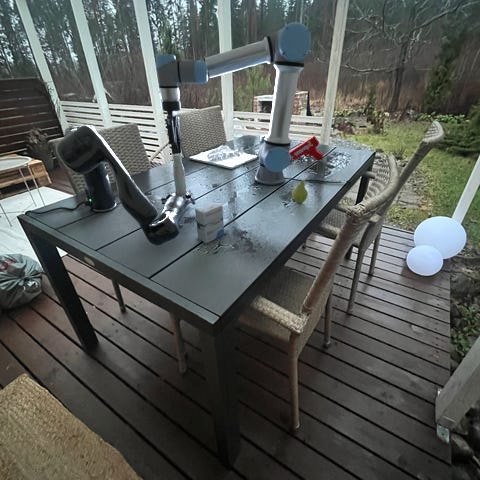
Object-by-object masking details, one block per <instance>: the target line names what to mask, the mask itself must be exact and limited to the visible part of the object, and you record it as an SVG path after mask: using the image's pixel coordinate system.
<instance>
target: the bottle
mask: <svg viewBox="0 0 480 480" xmlns="http://www.w3.org/2000/svg"><path fill="white" fill-rule="evenodd" d="M171 156H172V157H173V158H172V160H173V162H172V175H173V182H174V186H175V187H174V188H175V190H176V196H182V195H183V194H186V192H187V190H188V189H187V183H186V173H185V168H184V164H183V162H182V158H181V155H180V154H173V155H172V154H171ZM189 207H190V206H189V204H188V205H187V206H186V209H185V211H187V210H188V209H190V208H189Z"/></svg>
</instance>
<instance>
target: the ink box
mask: <svg viewBox="0 0 480 480" xmlns="http://www.w3.org/2000/svg"><path fill="white" fill-rule="evenodd" d="M223 207H224V206H223V204H220V203H218V202H216V201H212V202H209V203H207V204H205V205H202V206H198V207H197V208H196V207H195V208H194V212H195V220H196V221H195V222H196V223H195V224H196V230H197V239H199V240H200V241H202V242H203V243H205V244H208V243H210V242H212V241H214V240H216V239H217V238H220V237H222V236H224V235H225V228H224V227H225V226H224V210H223Z"/></svg>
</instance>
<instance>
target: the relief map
mask: <svg viewBox="0 0 480 480" xmlns="http://www.w3.org/2000/svg"><path fill="white" fill-rule="evenodd" d="M256 159H258V155H256V154H249V153H246V152H245V151H244V149H242V148H238V149H235V150H233V149H231V148H230V147H229V146H228V145H227V144H225V145H224V144H221V145H220V146H219V147H216V148H213V149H210V150H208V151H204V152H202V151H201V152H200V153H198V154H196V155H192V156H189V160H193V161H196V162H201V163H204V164H209V165H214V166H217V167H222V168H226V169H230V170H233V169H235V168H237V167H240V166H241V165H244V164H247V163H250V162H252V161H254V160H256Z"/></svg>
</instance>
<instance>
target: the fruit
mask: <svg viewBox="0 0 480 480" xmlns="http://www.w3.org/2000/svg"><path fill="white" fill-rule="evenodd" d="M310 177H311V175H310V174H309V175H308V176H307V177H305V179H301V180H302V181H299V182H298V184H297V185H296V186H295V187H294V188H293V190H292V191H291V198H292V200H293V201H294V202H295V203H297V204H301V203H304V202H305V201H306V200H307V198H308V196H309V195H308V190H307V189H306V184H305V183H306V181H305V180H308V179H309V178H310Z"/></svg>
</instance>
